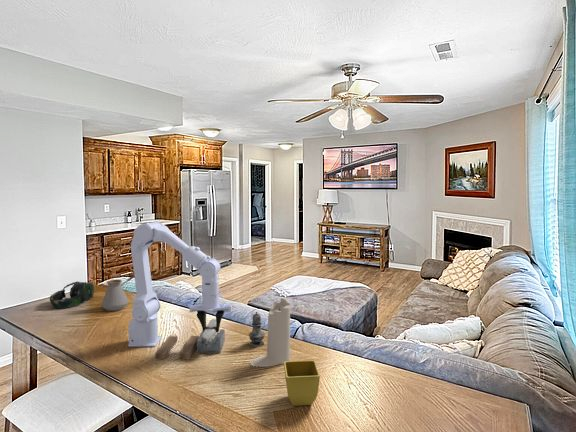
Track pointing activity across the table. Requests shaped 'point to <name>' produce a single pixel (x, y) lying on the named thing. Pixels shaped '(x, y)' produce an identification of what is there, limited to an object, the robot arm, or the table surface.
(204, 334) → the axle
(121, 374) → the table surface
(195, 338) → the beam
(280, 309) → the white boot
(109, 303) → the coffee pot
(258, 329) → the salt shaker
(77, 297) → the headphones
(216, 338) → the v block
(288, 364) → the flower pot
